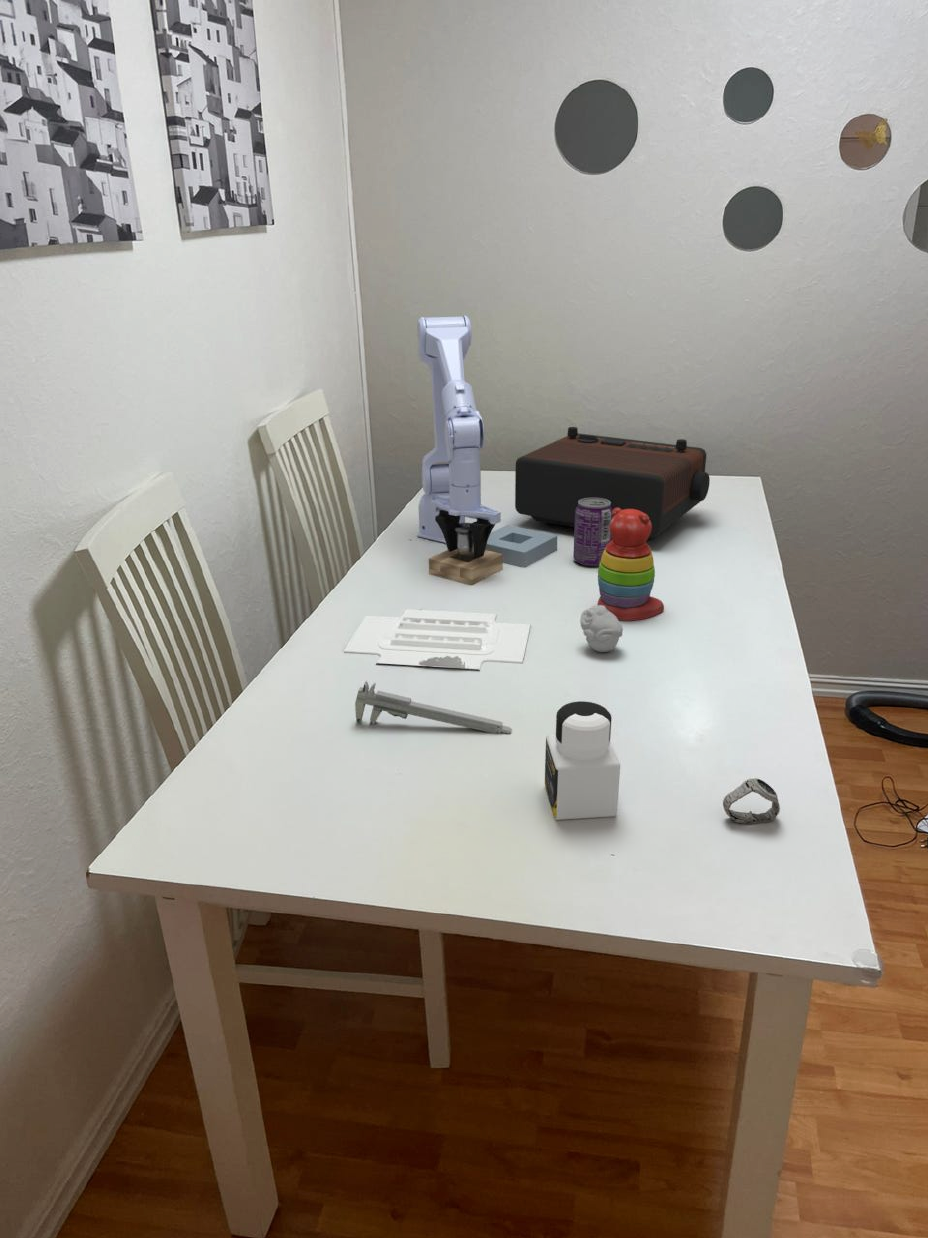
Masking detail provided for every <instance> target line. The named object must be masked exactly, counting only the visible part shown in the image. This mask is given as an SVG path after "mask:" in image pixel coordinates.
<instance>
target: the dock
mask: <svg viewBox="0 0 928 1238" xmlns="http://www.w3.org/2000/svg"><path fill="white" fill-rule="evenodd" d="M485 550H488V551H492V552H496V553H500V554H503V564H504V563H506V564H508V565H514V566H518V567H522V568H526V567H528V566H530V565H532V564H534V563H535V562H538V561H540V560H541V559H543V558H545V557H546V556H549V555H550V554H552V553H554V552H555V551H557V550H558V535H556V534H551V533H548V532H543V531H538V530H534V529H528V528H523V527H520V526H515V525H510V524H507V525H505V526H502V527H500V528H498V529H496V530H494V531H491V533H490V536H489V538H488V541H487V544H486V548H485Z"/></svg>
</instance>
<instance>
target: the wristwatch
mask: <svg viewBox="0 0 928 1238" xmlns="http://www.w3.org/2000/svg"><path fill="white" fill-rule="evenodd" d="M751 793H756V794H758V795H760V797H762V798H764V799H765V800H767V801H770V802H771V808H770V807H769V809H768V810H767V811H766V812H760V813H755V812H752V811H751V810H750V811H749V812H741V811H735V810H732V809H731V807H732V805H733V804H734V803H736V802H738V800H740V799H742V798H744V797H745V796H747V795H749V794H751ZM778 797H779V796H778V794H777V792H776V791H775V789H774V788H772V786H771V785H769V783H767V782H765V781H764V780H762V779H761V778H756V777H755V778H748V779H747V780H745V781H743V782H742V783H741V784H740V785H739V786H737V787H736V788H735V789H734V790H732V791H730V792H729V793H728V794H726V796H724V798H723V800H722V807H723V810H724V812H725V813H726V815H727V816H728V817H729V818H730V820H732V821H733V822H735V823H736V824H741V825H748V826H749V825H756V824H766V823H768V824H769V823H771V822H773V821H774V820H775V819H776V818H777V816H778V815H779V814H780V811H781V809H780V808H781V806H780V803H779V798H778Z"/></svg>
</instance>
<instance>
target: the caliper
mask: <svg viewBox="0 0 928 1238" xmlns="http://www.w3.org/2000/svg"><path fill="white" fill-rule="evenodd" d="M376 685H377V684H376V682H374V683H373V684H372V685H370V686H369V681H367V680H365V682H364V684H363V687H362V686H360V687H359V689H358V691H357V694H356V698H355V701H354V707H355V708H354V709H355V720H356V721H355V722H356V723H357V724H360V725H361V723H362V721H363V716H364V713H365V712H364V711H365V709H366V705H367V706H372V710H371V713H370V714H371V715H370V719H369V725H370V726H375V725H374V724H375V723H376V721H377V720H378V719H379V717H380V715H381V713H382V712H386V713H387V714H389V715H391V716H393V717H400V718H402V719H405V720H406V719H407V718H408V715H410V716H413V717H414V716H415V717H420V718H423V719H428V720H433V721H436V722H440V723H441V722H442V723H446V724H449V725H450V724H451V725H454V726H458V727H462V728H463V727H464V728H467V729H472V730H475V731H480V732H484V733H490V734H501V733H503V734H508V735H510V734H512V730H513V729H512V728H511V727H510V726H507V725H503V721H500V720H496V719H491V718H487V717H483V716H477V715H474V714H469V713H464V712H461V711H455V710H451V709H447V708H443V707H438V706H436V705H435V706H434V705H429V704H425V703H422V702H416V701H412V698H410V697H407V696H403V695H399V694H395V693H391V692H387V691H383V690H377V691H375V688H376Z"/></svg>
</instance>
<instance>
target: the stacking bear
mask: <svg viewBox="0 0 928 1238" xmlns="http://www.w3.org/2000/svg"><path fill="white" fill-rule="evenodd" d="M612 516H613V518H612V520H611V522H610V534H611V541H610V542H609V543H608V544H607V546H606V548H605V550H604V552H603V554H602V558H601V562H600V564H599V566H598V570H597V585H598V592H599V598H598V600H597V605H596V606H598V605H603V606H605V607H606V609H607V610H608V611H609V612H611V613H612V614H614V615H615V616H616V617H617V619H618V621H638V620H644V619H648V618H652V617H655V616H656V615H659V614H660V613H662V612H663V611H664V609H665V606H664V603H663V601H662V600H660V598H657V597H654V596H651V592H652V590H653V587H654V583H655V577H656V574H655V573H656V571H655V564H654V563H655V562H654V556H653V552H652V550H651V547H650V545H649V544H648V543H647V541H648V540H647V539H648V537H649V536H650V533H651V530H652V524H651V522H650V520H649V517H648V515H647V514H645V513H643V512H641V511H639V510H635V509H624V510H621V509H620V508H615V509H614V510H613V511H612Z"/></svg>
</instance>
